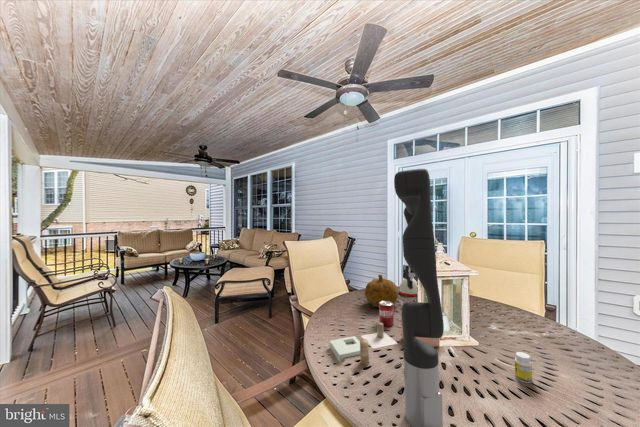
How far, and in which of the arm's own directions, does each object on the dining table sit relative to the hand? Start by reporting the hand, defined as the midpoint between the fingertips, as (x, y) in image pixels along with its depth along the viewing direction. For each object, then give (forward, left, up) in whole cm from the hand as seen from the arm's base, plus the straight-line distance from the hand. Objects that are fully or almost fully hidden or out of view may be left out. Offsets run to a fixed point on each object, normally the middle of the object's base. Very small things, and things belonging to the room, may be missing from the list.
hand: (418, 287), depth 114 cm
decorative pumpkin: (+48, -9, -26) cm, 55 cm away
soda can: (+21, +4, -26) cm, 33 cm away
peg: (-6, +30, -25) cm, 40 cm away
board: (+8, +16, -25) cm, 31 cm away
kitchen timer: (+61, -39, -26) cm, 77 cm away
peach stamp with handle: (0, 0, -25) cm, 25 cm away
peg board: (+6, +32, -25) cm, 41 cm away
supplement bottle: (-31, -18, -26) cm, 44 cm away
